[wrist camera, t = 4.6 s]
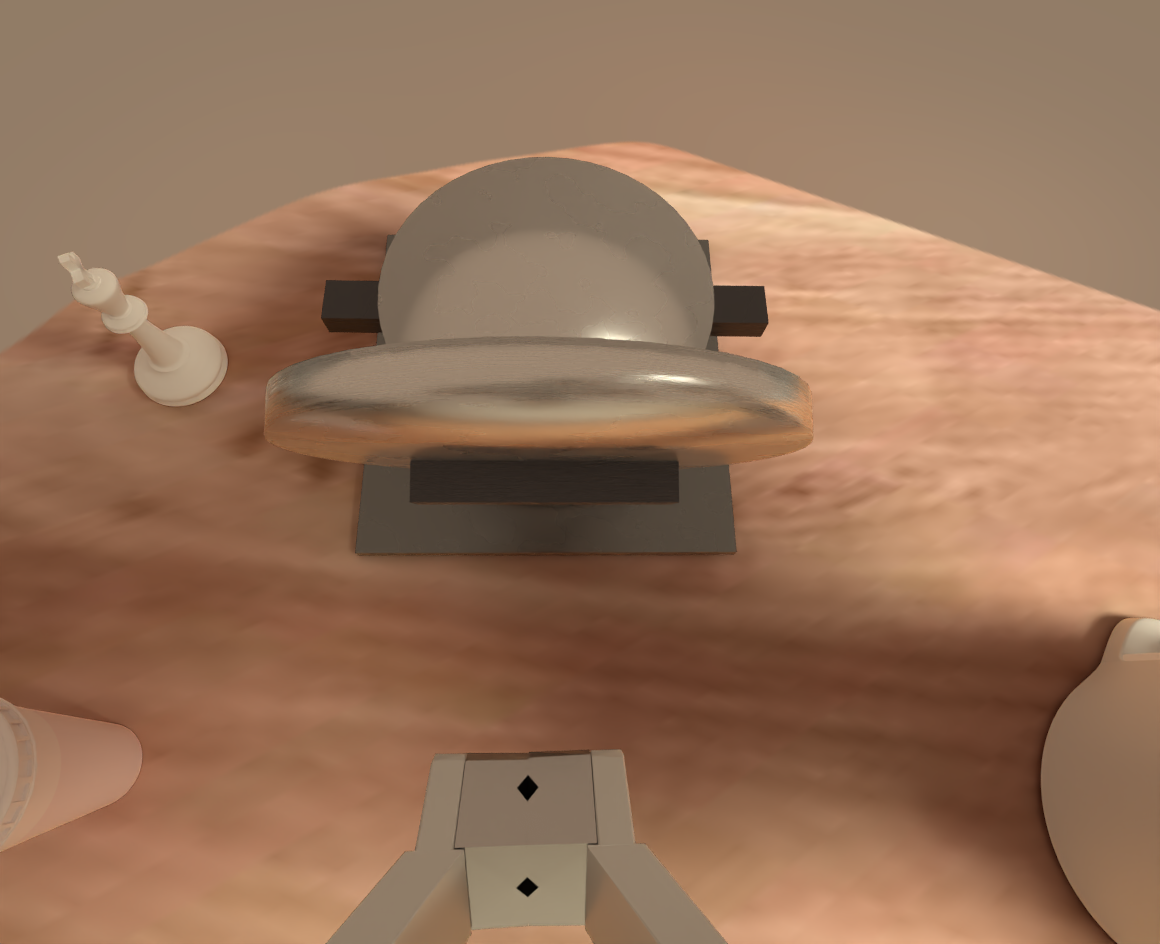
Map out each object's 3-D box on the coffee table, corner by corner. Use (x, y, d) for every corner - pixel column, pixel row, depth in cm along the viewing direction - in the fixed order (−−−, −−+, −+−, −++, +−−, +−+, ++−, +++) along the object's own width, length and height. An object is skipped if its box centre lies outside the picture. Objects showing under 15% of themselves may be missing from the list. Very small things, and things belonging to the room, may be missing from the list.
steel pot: (709, 246, 43) (751, 122, 33) (737, 554, 36) (799, 503, 27) (386, 241, 42) (340, 112, 33) (354, 555, 35) (285, 503, 26)
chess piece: (156, 421, 37) (21, 325, 28) (127, 353, 38) (-11, 239, 29) (240, 382, 38) (138, 277, 29) (210, 317, 39) (103, 195, 30)
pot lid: (935, 340, 13) (943, 476, 12) (728, 445, 28) (729, 508, 27) (123, 331, 12) (114, 475, 12) (361, 443, 27) (359, 508, 27)
